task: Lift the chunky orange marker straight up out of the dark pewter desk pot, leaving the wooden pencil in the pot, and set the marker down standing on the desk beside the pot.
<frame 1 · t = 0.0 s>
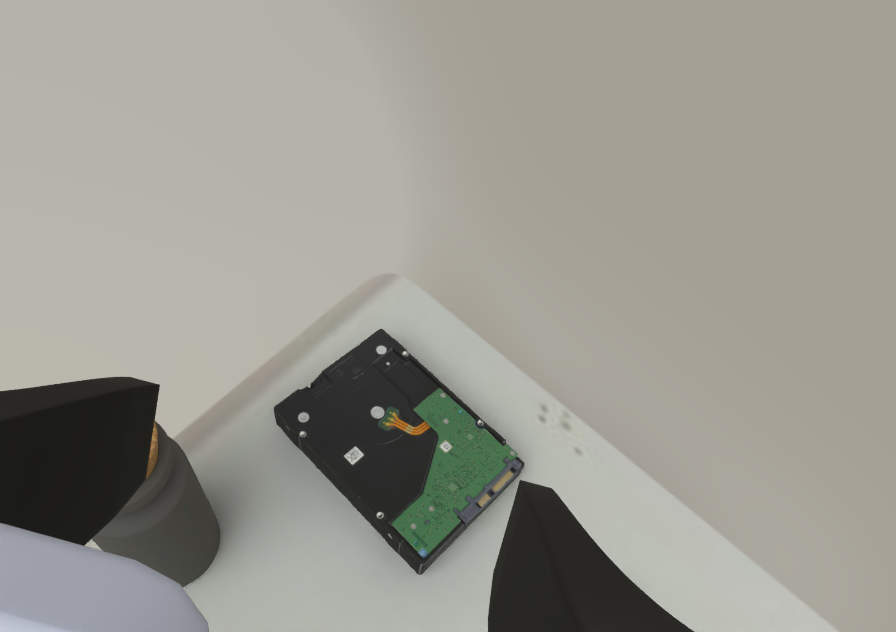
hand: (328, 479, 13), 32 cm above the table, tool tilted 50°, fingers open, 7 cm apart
disk drive: (397, 451, 48), on the table
bottle: (173, 544, 43), on the table
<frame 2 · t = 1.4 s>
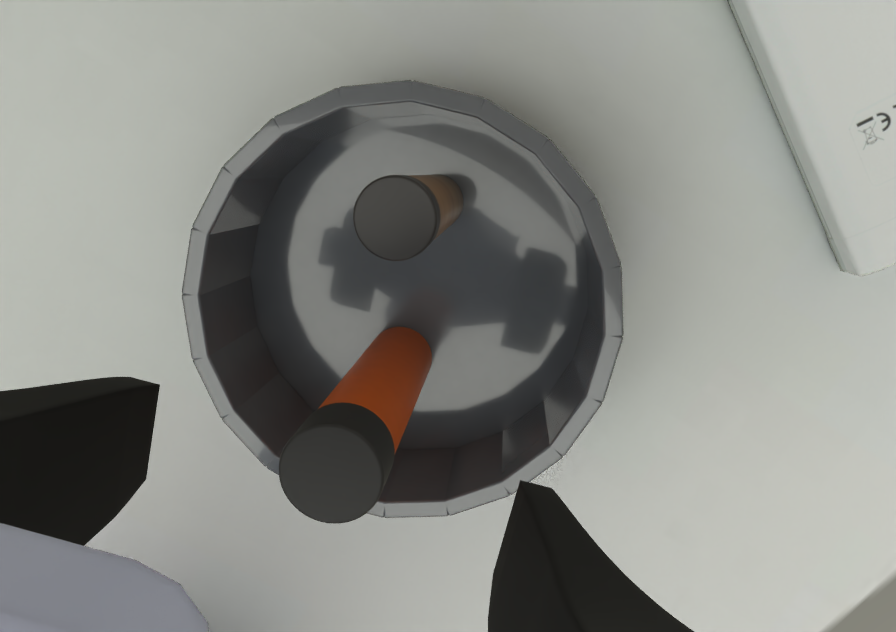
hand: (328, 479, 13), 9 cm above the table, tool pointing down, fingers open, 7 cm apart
hard drive: (895, 3, 18), on the table
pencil: (436, 201, 20), resting on pot
pot: (417, 288, 21), on the table
marker: (400, 357, 21), resting on pot
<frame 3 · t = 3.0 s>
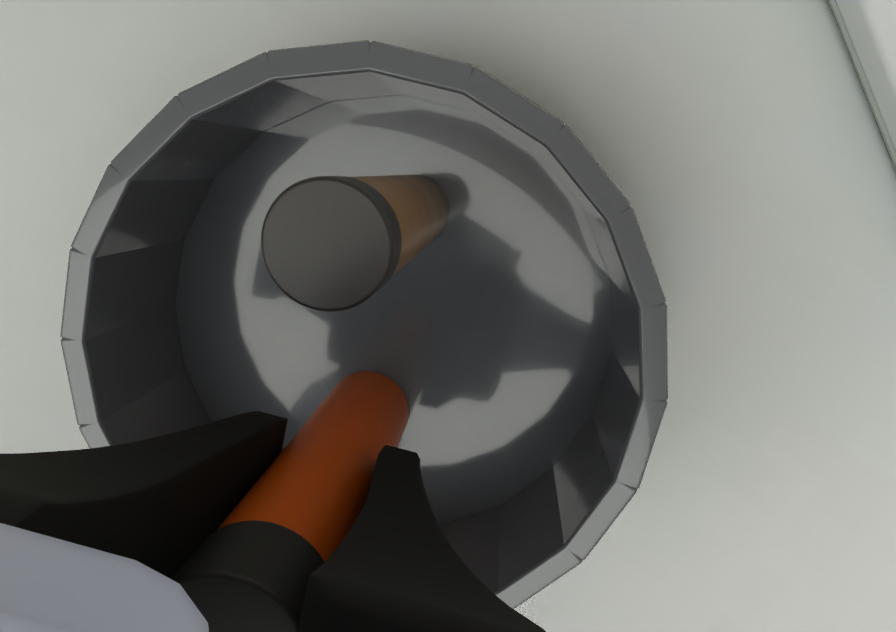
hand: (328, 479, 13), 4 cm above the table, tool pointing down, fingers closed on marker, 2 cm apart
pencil: (414, 210, 15), resting on pot
pot: (391, 321, 16), on the table
marker: (368, 409, 16), resting on pot, touching gripper
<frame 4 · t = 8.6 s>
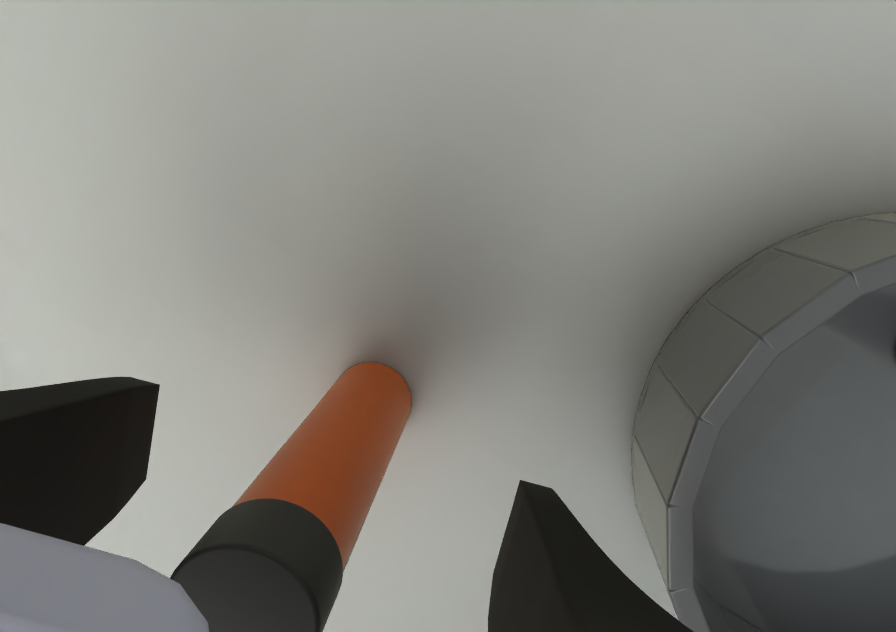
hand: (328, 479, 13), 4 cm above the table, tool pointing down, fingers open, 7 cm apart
pot: (874, 452, 16), on the table
marker: (372, 399, 17), on the table
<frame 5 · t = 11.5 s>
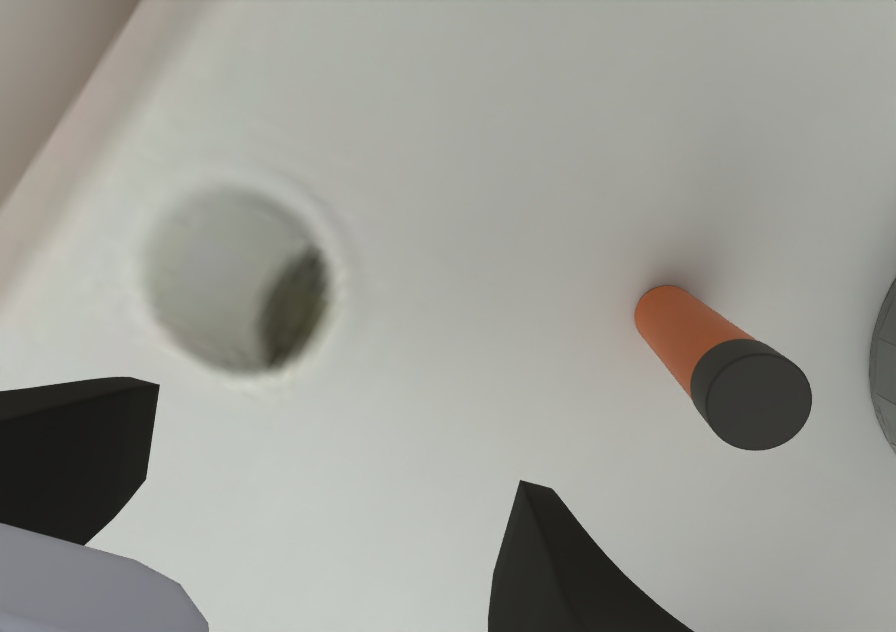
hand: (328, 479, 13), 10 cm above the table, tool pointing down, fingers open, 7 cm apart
marker: (665, 315, 22), on the table
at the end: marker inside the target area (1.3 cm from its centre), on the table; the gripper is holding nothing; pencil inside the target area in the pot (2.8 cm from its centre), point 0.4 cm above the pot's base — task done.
